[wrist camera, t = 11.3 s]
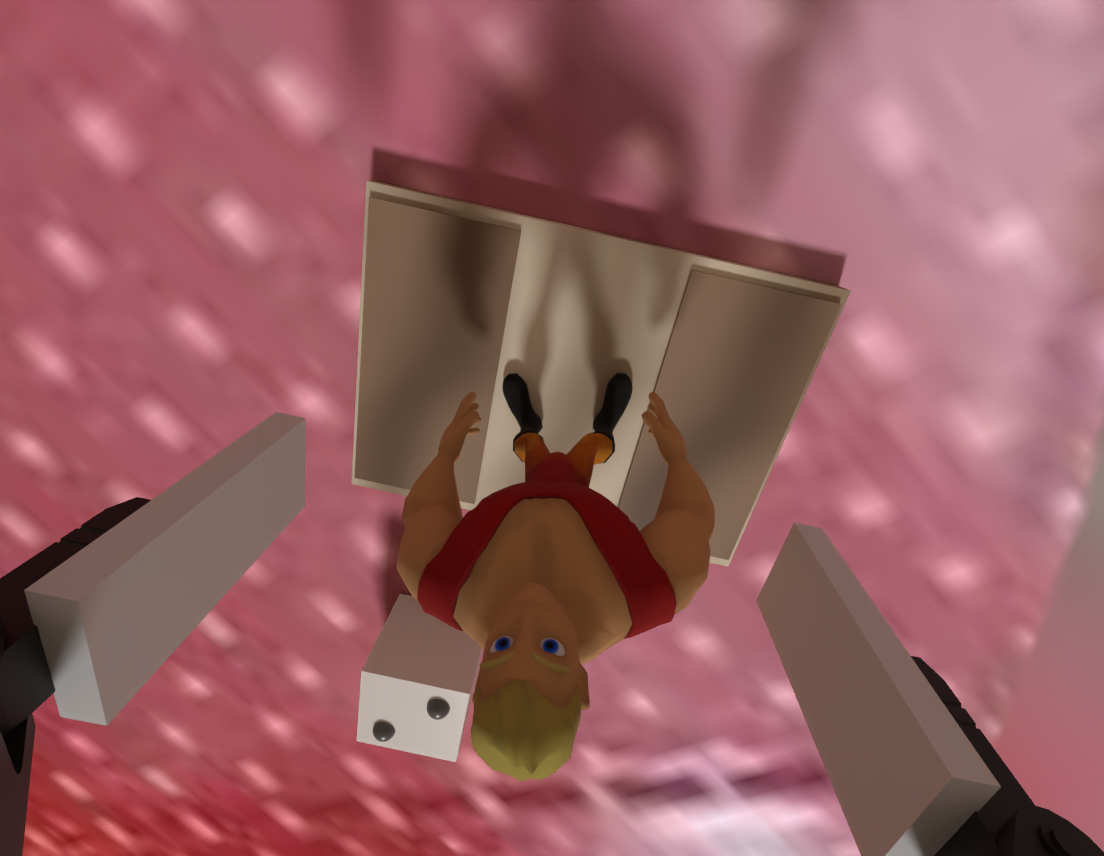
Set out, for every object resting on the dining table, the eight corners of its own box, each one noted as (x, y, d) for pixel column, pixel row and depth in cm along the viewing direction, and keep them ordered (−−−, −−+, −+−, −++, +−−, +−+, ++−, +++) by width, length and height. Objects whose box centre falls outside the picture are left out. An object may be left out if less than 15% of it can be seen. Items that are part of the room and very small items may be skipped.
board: (360, 473, 25) (349, 486, 24) (377, 181, 20) (364, 180, 19) (723, 553, 25) (729, 569, 24) (839, 286, 20) (853, 291, 19)
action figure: (687, 359, 20) (850, 730, 7) (680, 440, 22) (803, 866, 9) (450, 360, 21) (199, 694, 8) (460, 438, 23) (265, 824, 10)
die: (392, 658, 30) (352, 750, 25) (399, 593, 28) (356, 680, 23) (477, 676, 30) (453, 772, 25) (490, 613, 28) (467, 704, 23)
